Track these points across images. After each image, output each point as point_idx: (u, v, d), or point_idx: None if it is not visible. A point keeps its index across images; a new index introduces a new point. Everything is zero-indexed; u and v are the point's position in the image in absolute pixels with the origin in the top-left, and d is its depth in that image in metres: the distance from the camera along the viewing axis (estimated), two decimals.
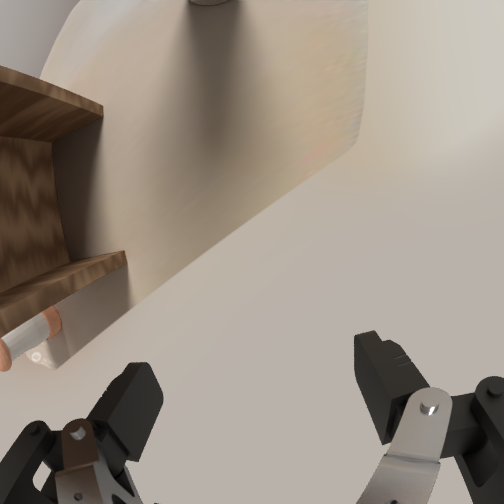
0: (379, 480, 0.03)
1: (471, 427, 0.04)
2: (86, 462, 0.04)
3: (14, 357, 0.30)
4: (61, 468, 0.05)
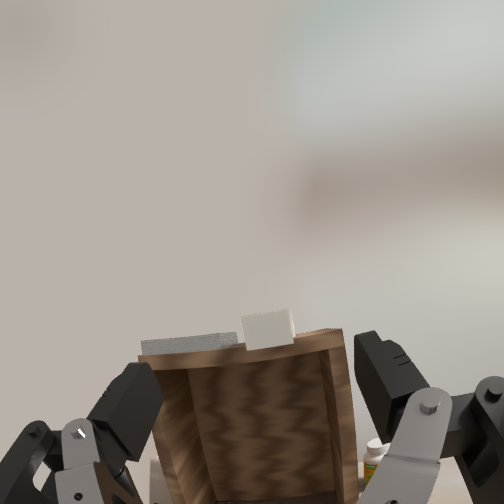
0: (379, 480, 0.03)
1: (471, 427, 0.04)
2: (86, 462, 0.04)
3: None
4: (61, 468, 0.05)
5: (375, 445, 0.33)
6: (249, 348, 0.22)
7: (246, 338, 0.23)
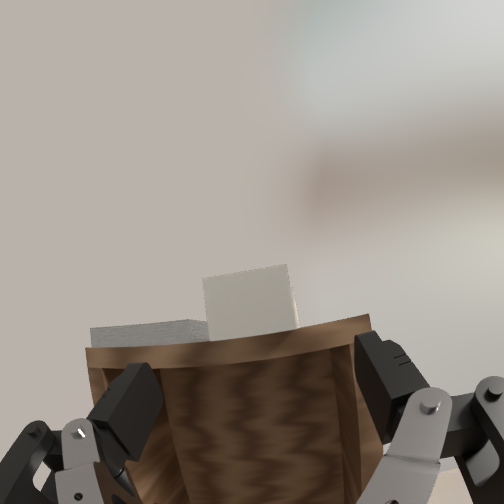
0: (379, 480, 0.03)
1: (471, 427, 0.04)
2: (86, 462, 0.04)
3: None
4: (61, 468, 0.05)
5: None
6: (214, 337, 0.12)
7: (209, 318, 0.12)
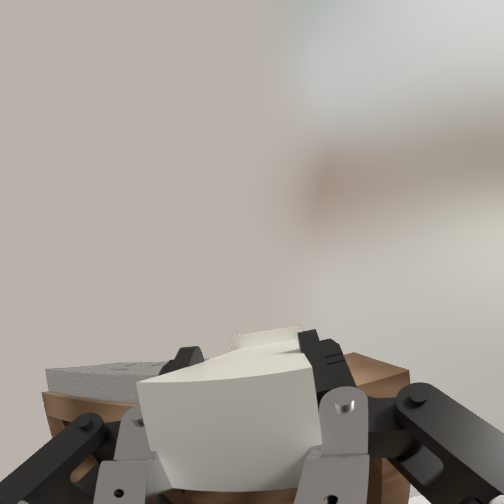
0: (309, 479, 0.03)
1: (391, 431, 0.05)
2: (140, 455, 0.05)
3: None
4: None
5: None
6: None
7: None
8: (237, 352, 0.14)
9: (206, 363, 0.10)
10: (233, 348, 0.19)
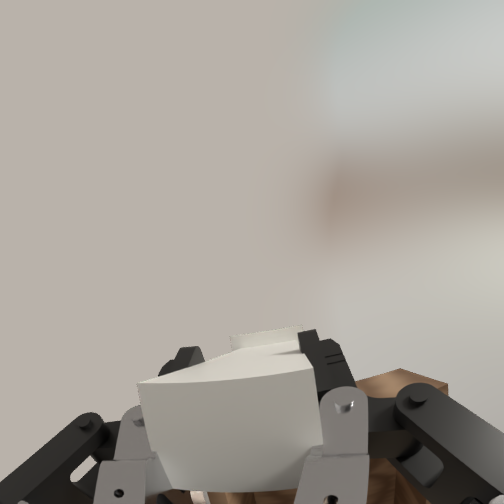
0: (309, 479, 0.03)
1: (391, 431, 0.05)
2: (140, 455, 0.05)
3: None
4: None
5: None
6: None
7: None
8: (237, 352, 0.14)
9: (207, 363, 0.09)
10: (233, 348, 0.19)
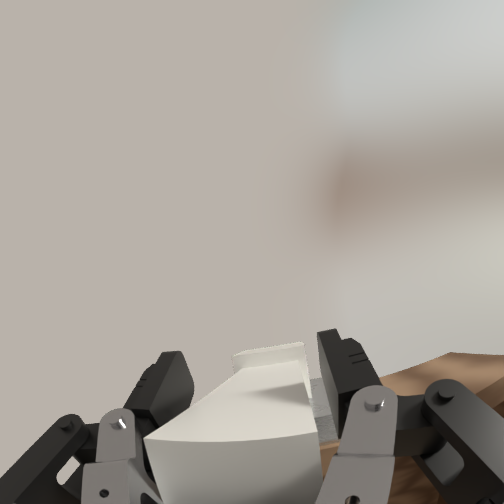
0: (333, 478, 0.03)
1: (420, 428, 0.05)
2: (121, 456, 0.05)
3: None
4: None
5: None
6: None
7: (166, 499, 0.04)
8: (240, 378, 0.14)
9: (210, 400, 0.09)
10: (235, 368, 0.18)
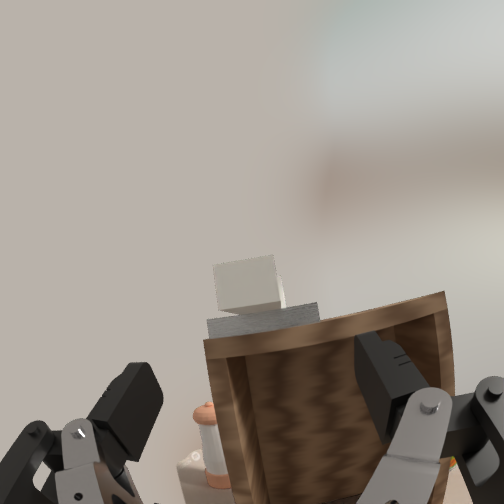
0: (379, 480, 0.03)
1: (471, 427, 0.04)
2: (86, 462, 0.04)
3: (200, 428, 0.43)
4: (61, 468, 0.05)
5: None
6: (222, 307, 0.17)
7: (218, 293, 0.18)
8: None
9: None
10: None
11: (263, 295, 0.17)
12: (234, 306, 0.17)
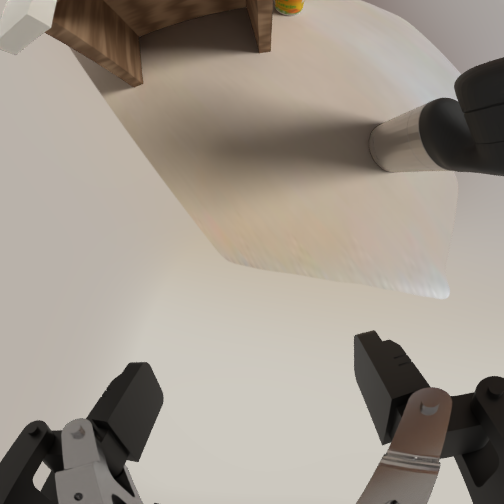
0: (379, 480, 0.03)
1: (471, 427, 0.04)
2: (86, 462, 0.04)
3: None
4: (61, 468, 0.05)
5: None
6: (16, 53, 0.10)
7: (8, 51, 0.09)
8: None
9: (7, 7, 0.06)
10: None
11: (37, 32, 0.09)
12: (23, 47, 0.10)
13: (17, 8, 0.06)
